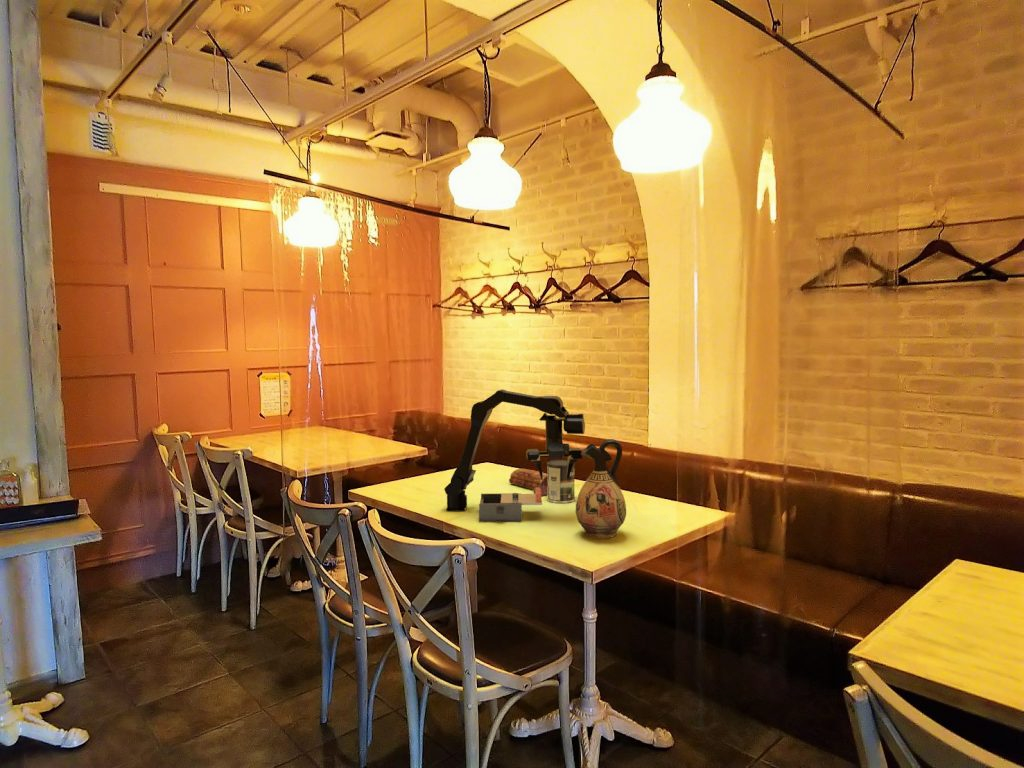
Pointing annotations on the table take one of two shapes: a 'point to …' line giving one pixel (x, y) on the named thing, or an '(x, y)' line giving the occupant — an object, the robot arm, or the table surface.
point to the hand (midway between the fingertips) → (554, 479)
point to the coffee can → (560, 482)
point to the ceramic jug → (601, 494)
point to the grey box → (498, 509)
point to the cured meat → (530, 480)
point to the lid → (523, 498)
